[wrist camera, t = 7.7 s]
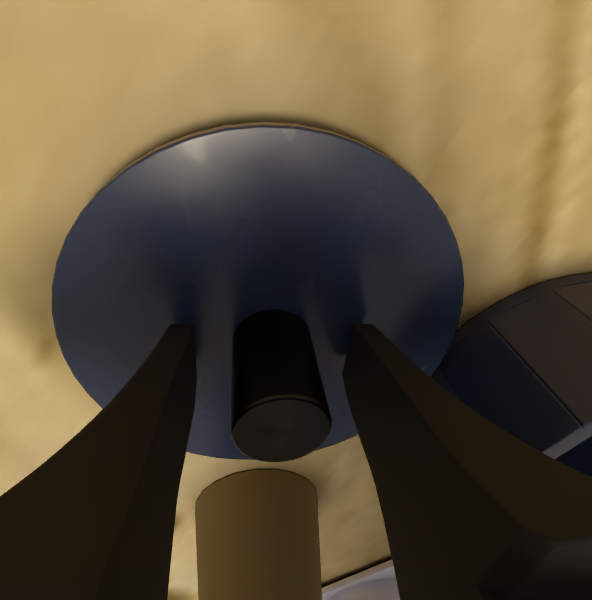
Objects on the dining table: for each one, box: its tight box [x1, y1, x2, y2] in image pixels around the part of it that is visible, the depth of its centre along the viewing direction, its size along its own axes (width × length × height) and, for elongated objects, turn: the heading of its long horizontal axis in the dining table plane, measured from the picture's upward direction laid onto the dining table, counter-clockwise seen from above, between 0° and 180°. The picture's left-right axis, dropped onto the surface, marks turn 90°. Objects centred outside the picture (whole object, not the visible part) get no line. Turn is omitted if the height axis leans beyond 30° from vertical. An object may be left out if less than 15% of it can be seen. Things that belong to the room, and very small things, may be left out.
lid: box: [52, 122, 464, 462], centre depth 11 cm, size 12×12×4 cm
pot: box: [431, 273, 592, 478], centre depth 14 cm, size 11×17×5 cm
